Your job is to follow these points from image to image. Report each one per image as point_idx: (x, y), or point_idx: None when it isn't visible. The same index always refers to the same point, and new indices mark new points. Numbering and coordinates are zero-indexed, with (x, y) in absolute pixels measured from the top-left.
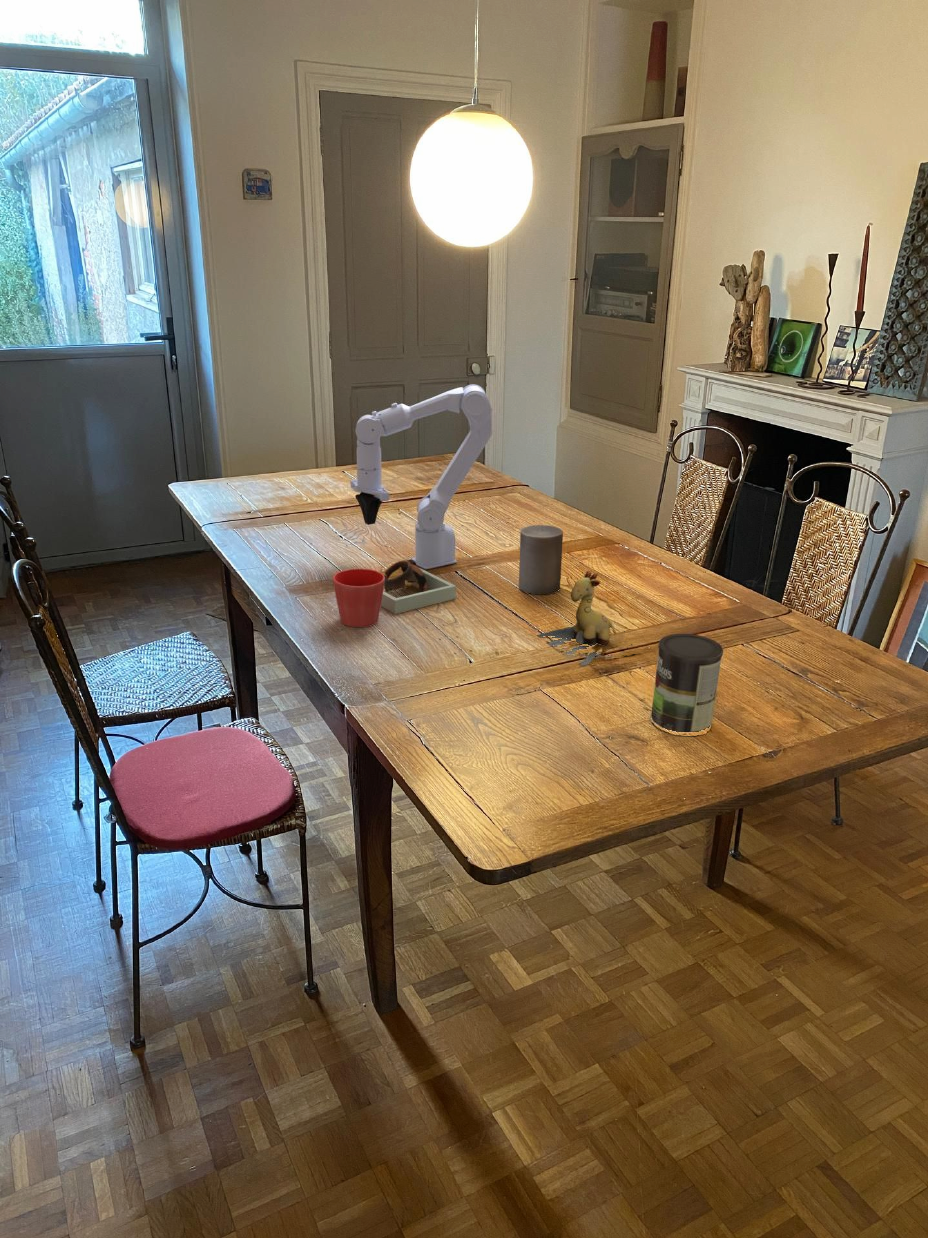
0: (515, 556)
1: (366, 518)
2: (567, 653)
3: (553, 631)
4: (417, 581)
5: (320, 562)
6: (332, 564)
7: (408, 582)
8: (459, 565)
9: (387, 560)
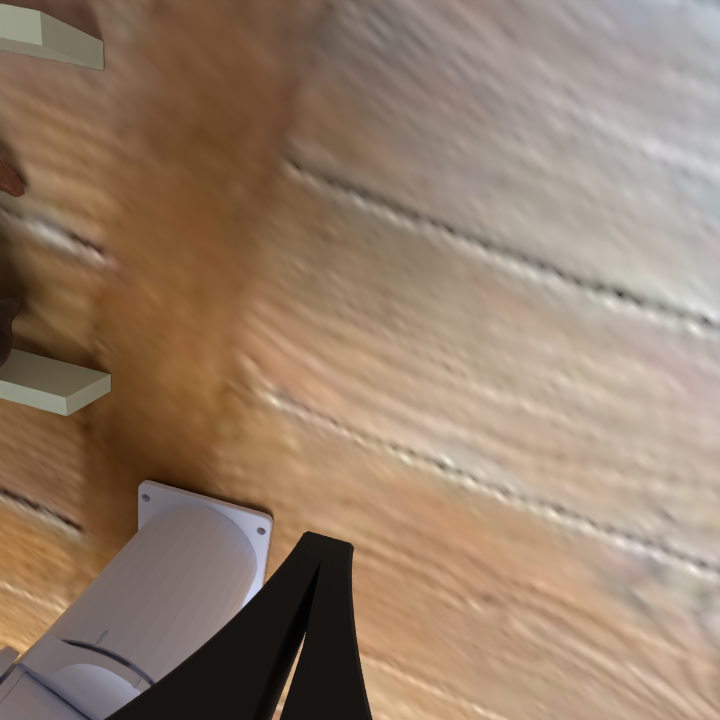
0: None
1: (287, 567)
2: None
3: None
4: (54, 359)
5: (596, 222)
6: (508, 250)
7: (14, 299)
8: None
9: (341, 472)
